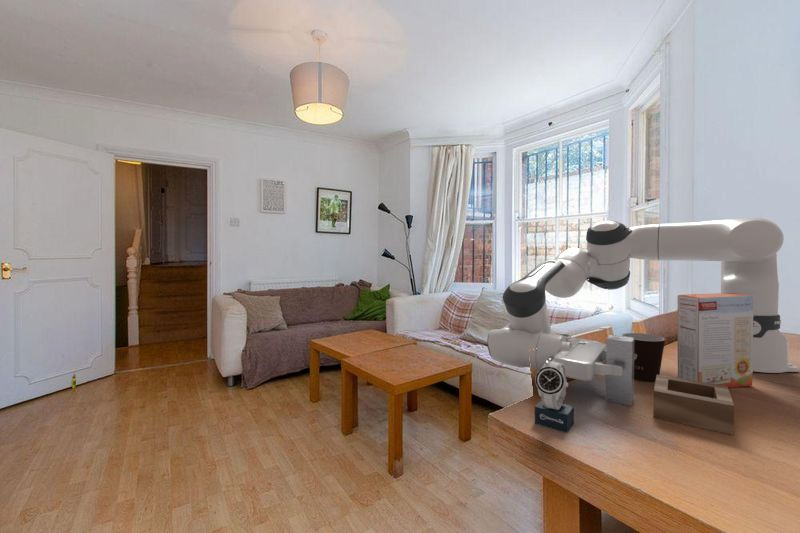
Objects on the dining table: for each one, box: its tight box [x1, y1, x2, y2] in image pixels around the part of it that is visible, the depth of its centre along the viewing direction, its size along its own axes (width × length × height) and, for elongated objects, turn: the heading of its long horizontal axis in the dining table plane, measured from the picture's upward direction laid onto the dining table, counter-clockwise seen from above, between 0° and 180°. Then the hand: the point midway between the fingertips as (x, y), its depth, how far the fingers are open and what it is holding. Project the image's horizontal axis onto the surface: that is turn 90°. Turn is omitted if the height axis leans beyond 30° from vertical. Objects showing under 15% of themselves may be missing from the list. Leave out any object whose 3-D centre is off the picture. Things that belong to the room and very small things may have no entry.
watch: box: [534, 361, 575, 434], centre depth 65 cm, size 6×8×11 cm
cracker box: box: [677, 292, 754, 388], centre depth 83 cm, size 14×6×21 cm, turn 97°
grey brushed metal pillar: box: [605, 334, 635, 407], centre depth 75 cm, size 4×4×13 cm
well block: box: [652, 374, 735, 436], centre depth 68 cm, size 11×11×5 cm
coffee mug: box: [621, 332, 666, 383], centre depth 89 cm, size 12×9×10 cm
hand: (625, 364), depth 74 cm, fingers open, 8 cm apart
